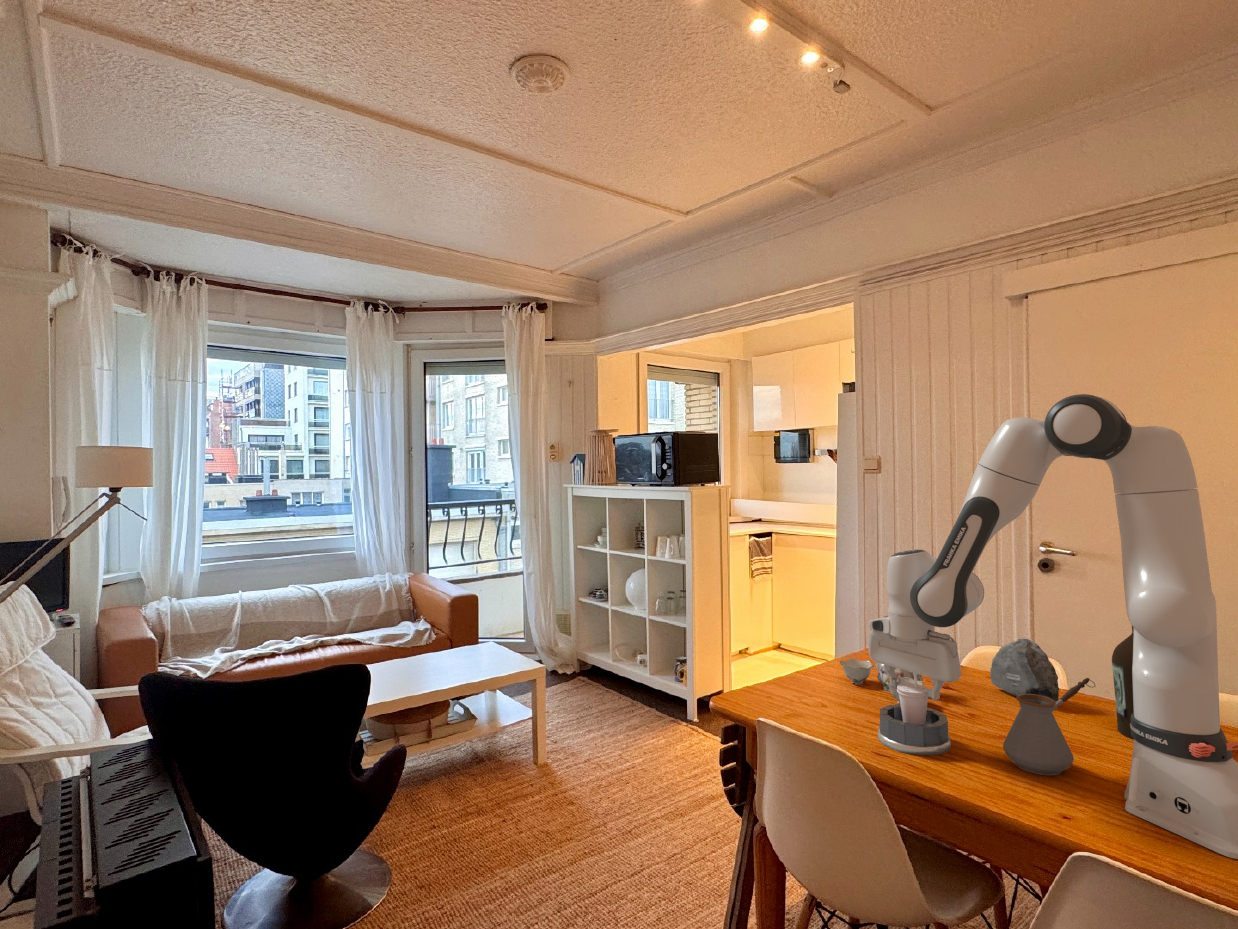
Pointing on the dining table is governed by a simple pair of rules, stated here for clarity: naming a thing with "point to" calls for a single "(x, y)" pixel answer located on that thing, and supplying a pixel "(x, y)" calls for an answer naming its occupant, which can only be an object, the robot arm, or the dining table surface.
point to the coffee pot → (1040, 735)
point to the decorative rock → (1024, 670)
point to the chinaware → (862, 671)
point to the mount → (914, 732)
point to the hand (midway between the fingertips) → (914, 692)
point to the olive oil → (1123, 684)
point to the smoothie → (913, 702)
